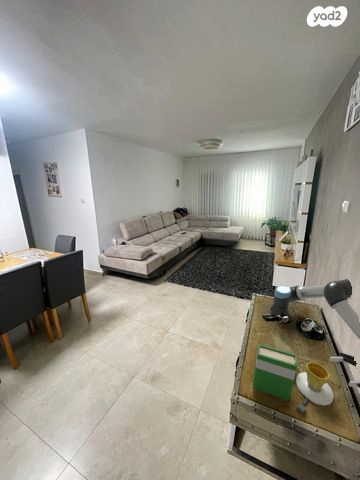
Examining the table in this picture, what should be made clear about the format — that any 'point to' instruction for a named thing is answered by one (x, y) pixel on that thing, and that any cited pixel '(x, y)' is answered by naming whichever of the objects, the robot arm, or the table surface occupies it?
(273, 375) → the hardback book
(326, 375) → the plant pot
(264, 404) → the table surface
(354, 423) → the table surface
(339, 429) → the table surface
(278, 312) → the robot arm
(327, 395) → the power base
